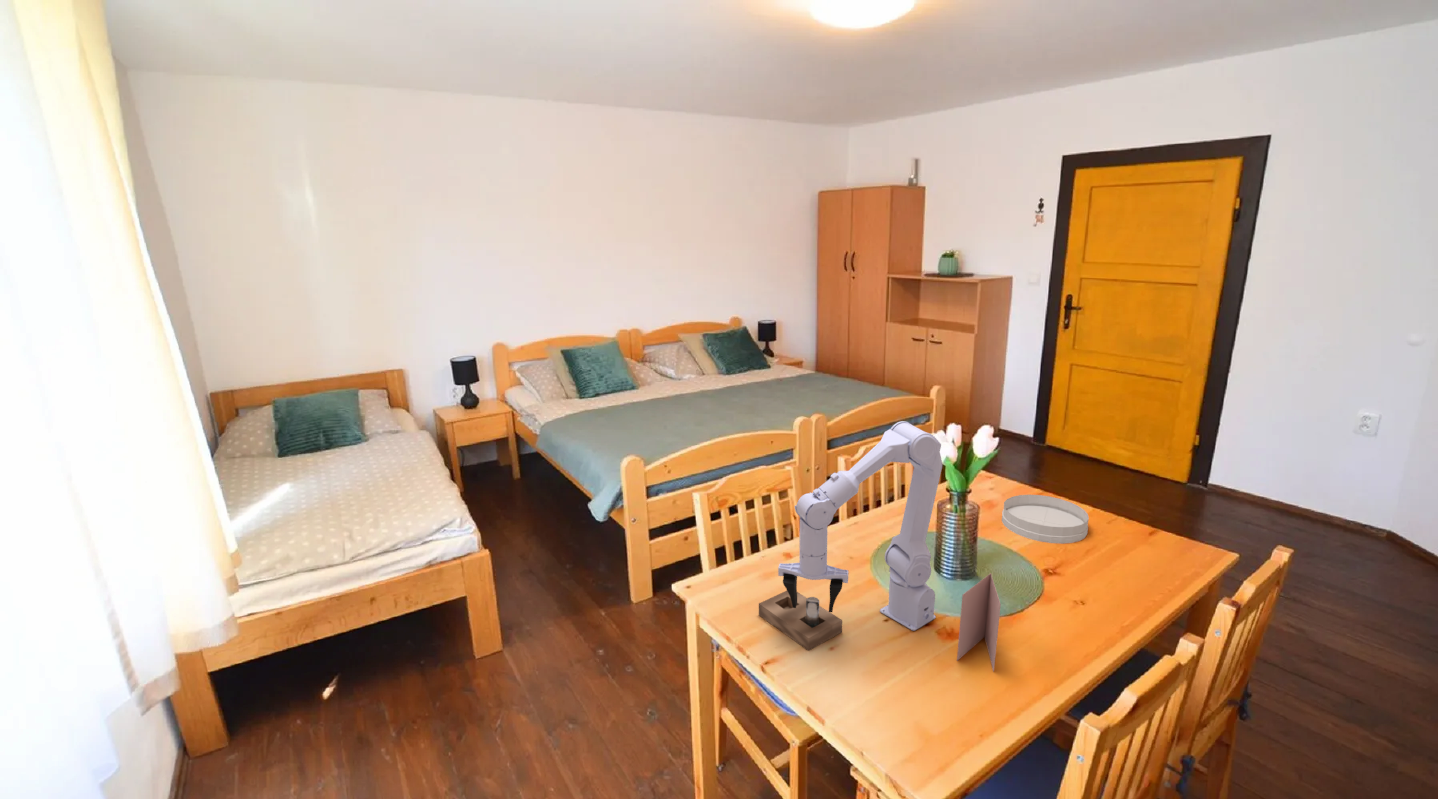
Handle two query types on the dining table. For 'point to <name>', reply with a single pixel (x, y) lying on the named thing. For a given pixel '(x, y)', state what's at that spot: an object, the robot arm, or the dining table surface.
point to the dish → (1045, 519)
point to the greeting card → (979, 618)
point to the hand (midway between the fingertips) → (812, 607)
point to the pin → (812, 611)
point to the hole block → (799, 620)
